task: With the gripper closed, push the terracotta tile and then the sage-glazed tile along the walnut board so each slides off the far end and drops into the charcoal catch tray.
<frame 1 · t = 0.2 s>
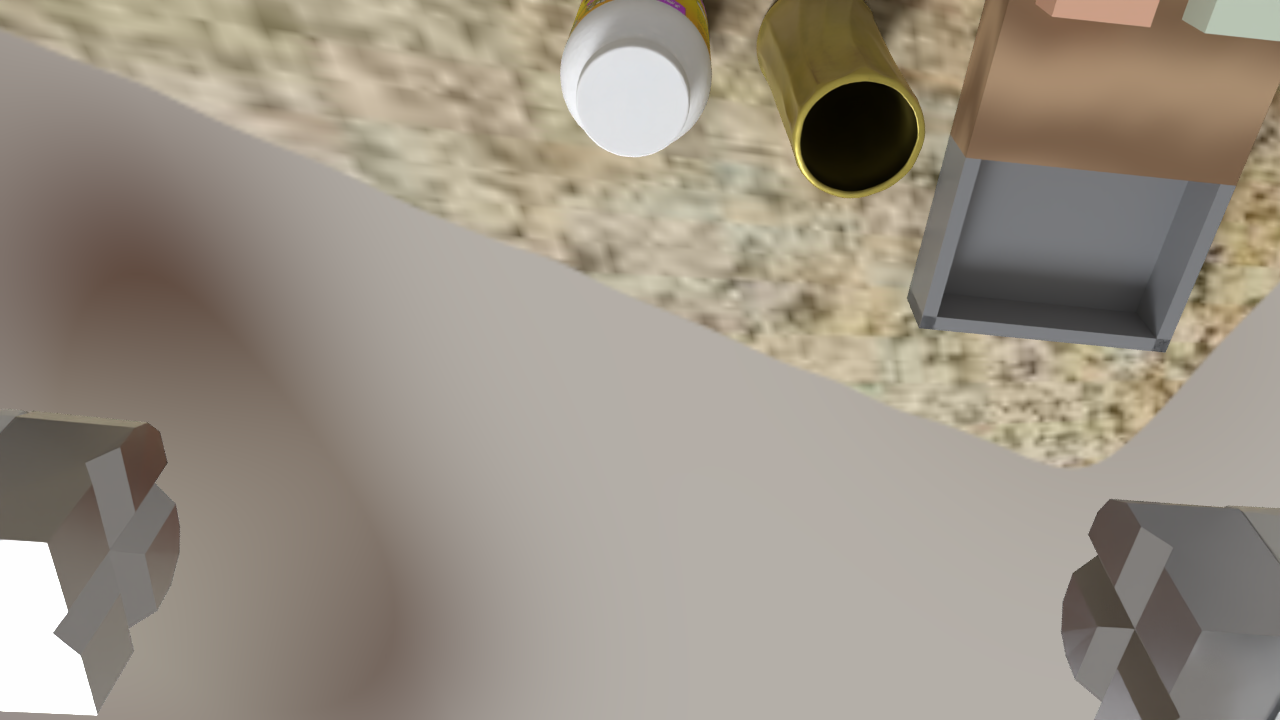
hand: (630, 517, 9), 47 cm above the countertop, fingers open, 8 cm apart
vase: (815, 42, 54), on the countertop
tray: (1050, 232, 59), on the countertop
supplement bottle: (641, 23, 54), on the countertop
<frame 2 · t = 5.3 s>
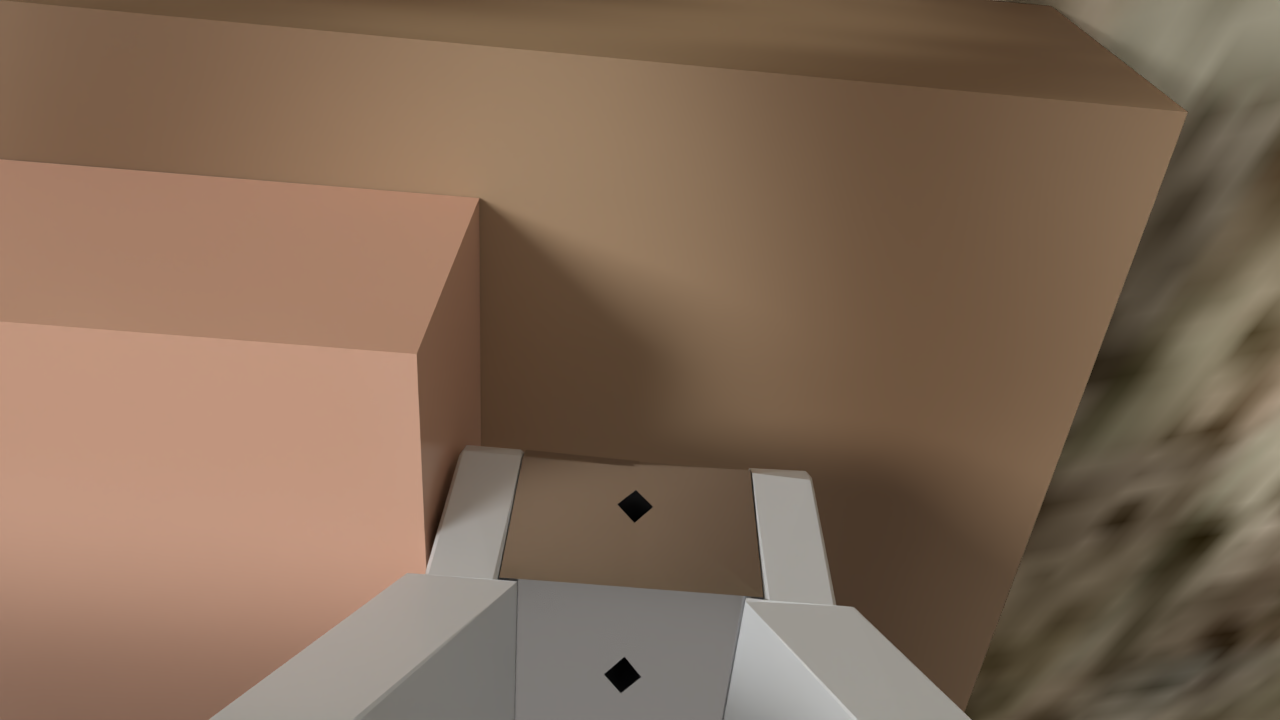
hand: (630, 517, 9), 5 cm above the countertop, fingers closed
board: (343, 462, 15), on the countertop
tile terracotta: (243, 399, 10), point 4 cm above the countertop, touching gripper
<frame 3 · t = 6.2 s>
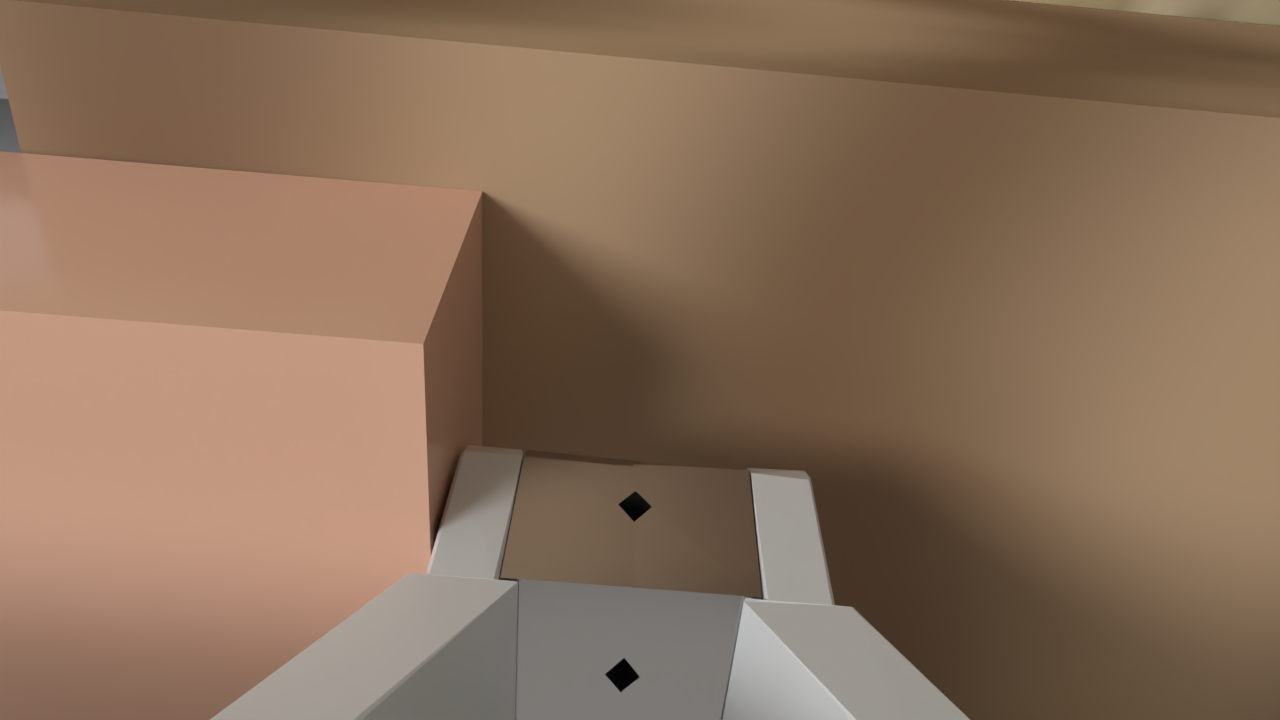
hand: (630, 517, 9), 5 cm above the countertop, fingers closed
board: (810, 499, 15), on the countertop
tile terracotta: (245, 392, 10), point 4 cm above the countertop, touching gripper
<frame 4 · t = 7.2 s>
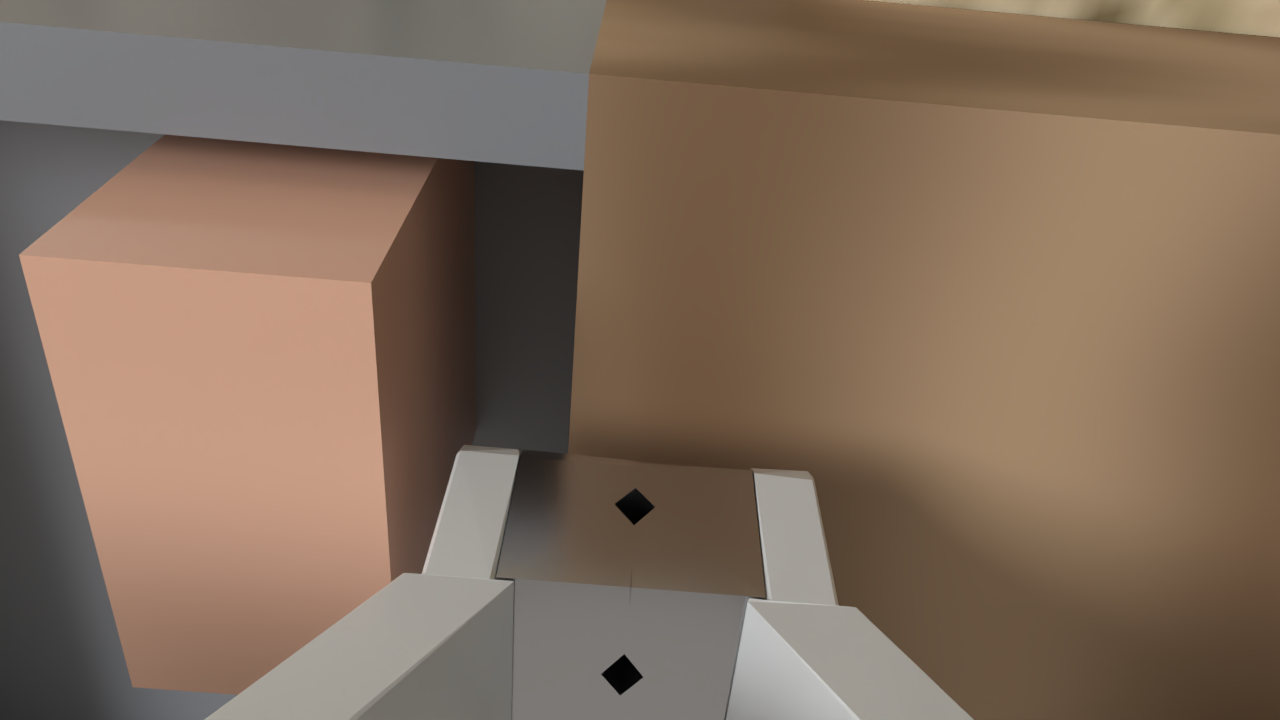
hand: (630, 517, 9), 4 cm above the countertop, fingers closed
board: (1137, 536, 15), on the countertop
tray: (224, 462, 15), on the countertop
tile terracotta: (439, 377, 11), point 3 cm above the countertop, tilted 90°, touching tray
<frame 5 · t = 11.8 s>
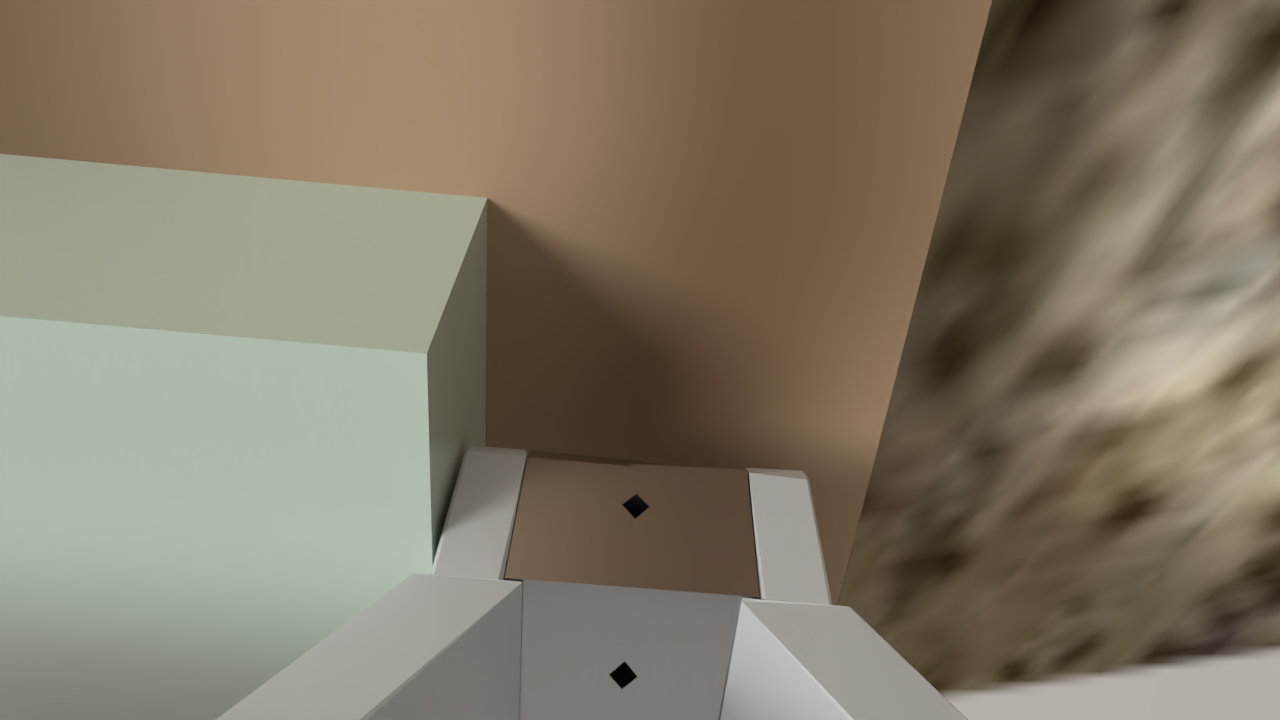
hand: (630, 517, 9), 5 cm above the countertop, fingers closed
tile sage: (247, 396, 10), point 3 cm above the countertop, touching board, gripper
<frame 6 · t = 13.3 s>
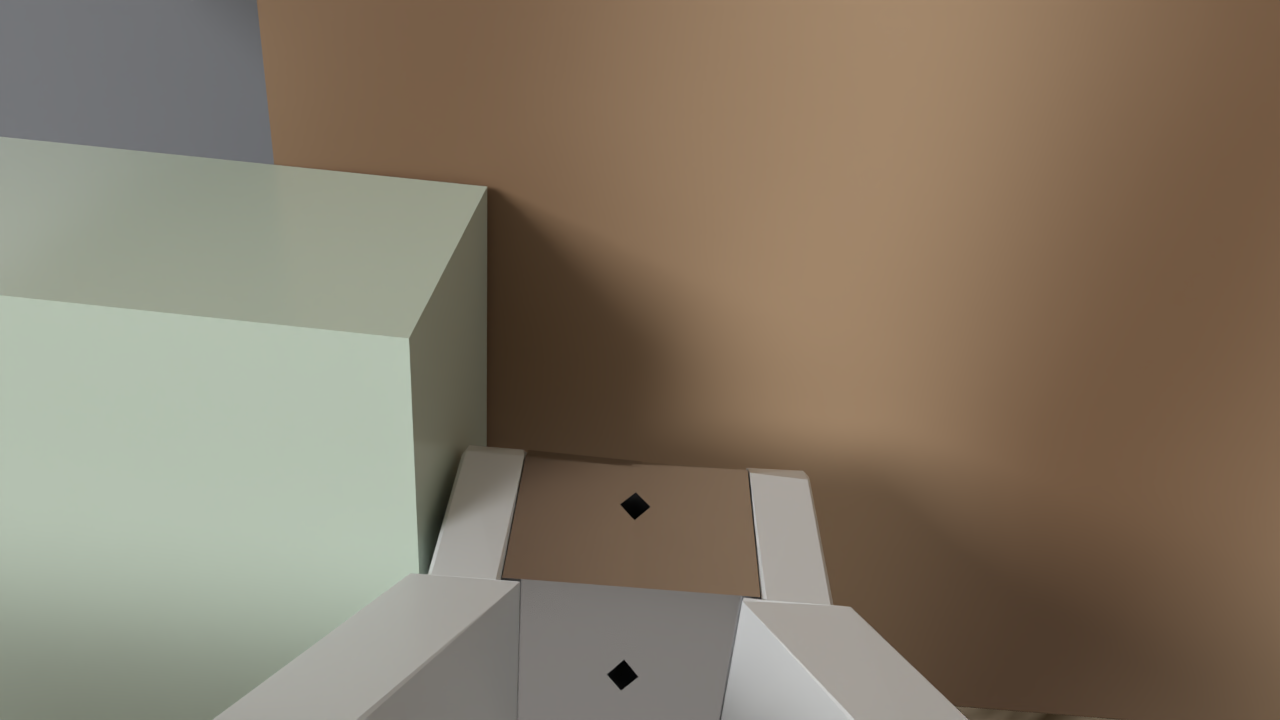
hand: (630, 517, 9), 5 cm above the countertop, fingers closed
board: (1115, 12, 11), on the countertop
tile sage: (251, 384, 10), point 3 cm above the countertop, touching gripper
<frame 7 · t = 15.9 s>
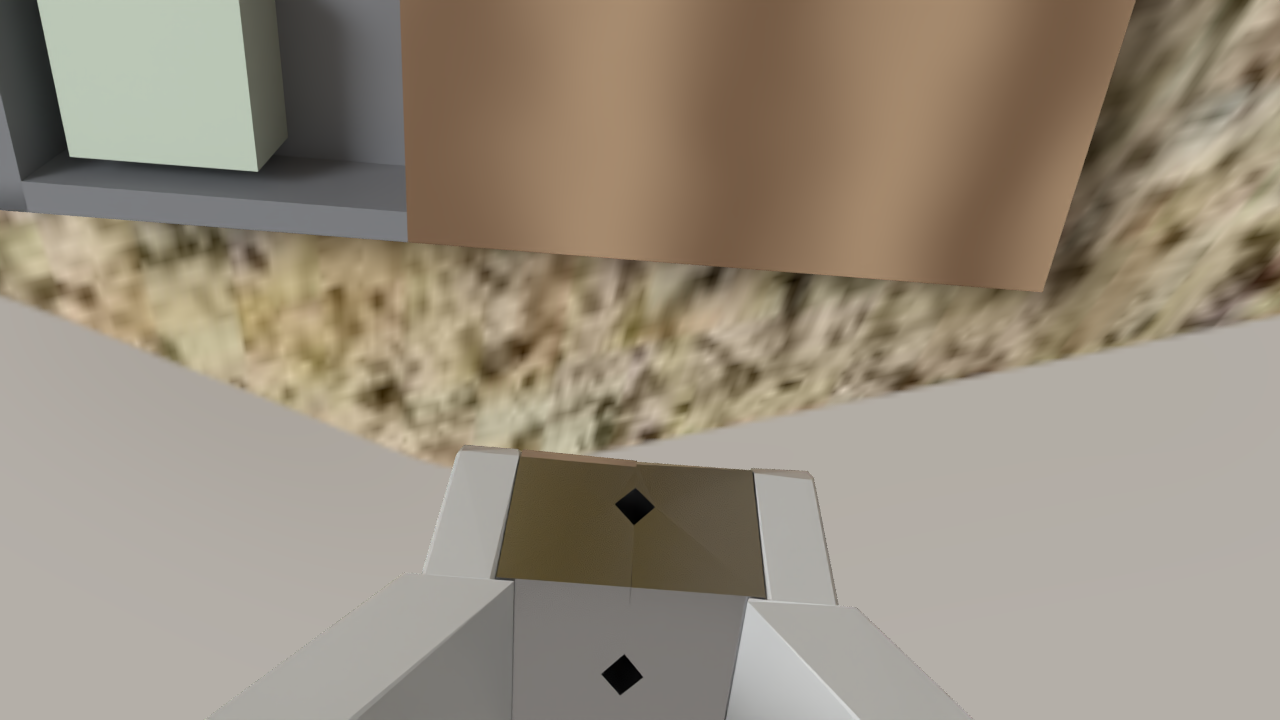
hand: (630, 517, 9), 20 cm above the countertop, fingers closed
tile sage: (149, 72, 24), point 3 cm above the countertop, tilted 180°, touching tray
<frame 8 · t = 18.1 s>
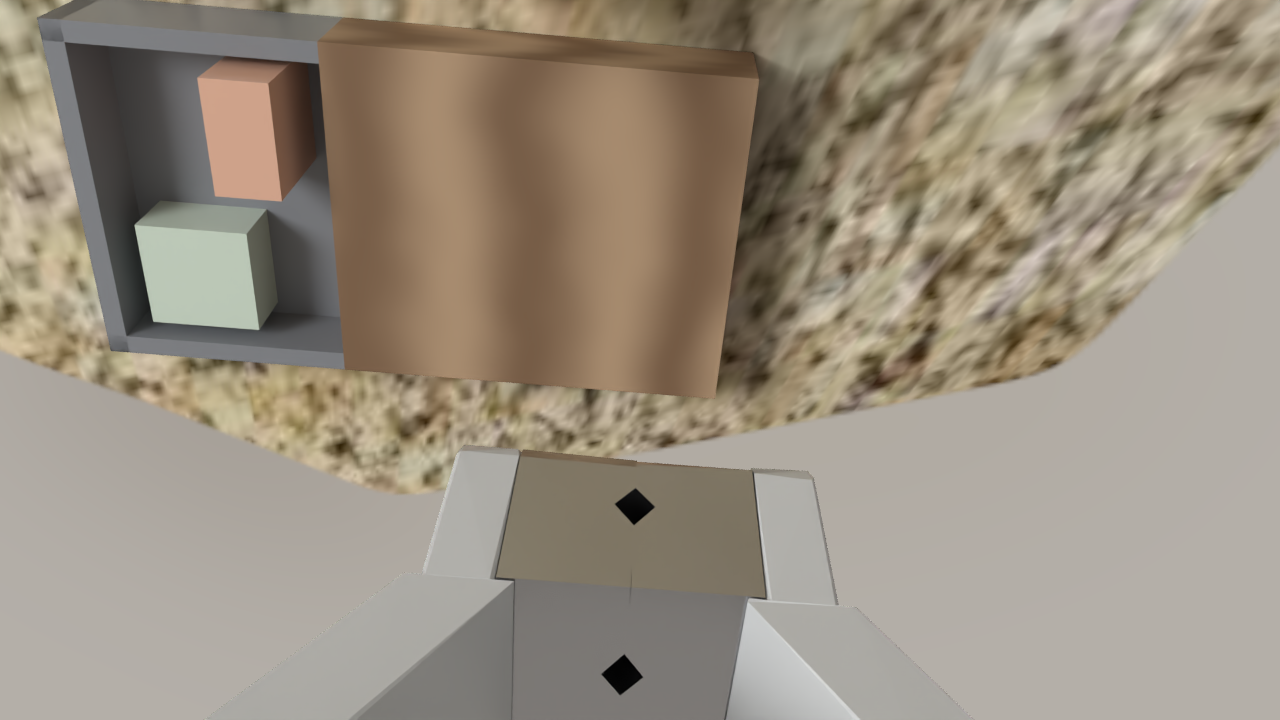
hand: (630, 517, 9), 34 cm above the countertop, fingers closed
board: (543, 201, 44), on the countertop
tray: (236, 176, 44), on the countertop
tile sage: (198, 279, 43), point 3 cm above the countertop, tilted 180°, touching tray
tile terracotta: (294, 123, 40), point 3 cm above the countertop, tilted 90°, touching tray
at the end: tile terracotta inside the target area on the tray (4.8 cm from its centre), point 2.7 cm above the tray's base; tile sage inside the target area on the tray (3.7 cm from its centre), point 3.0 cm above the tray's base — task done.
